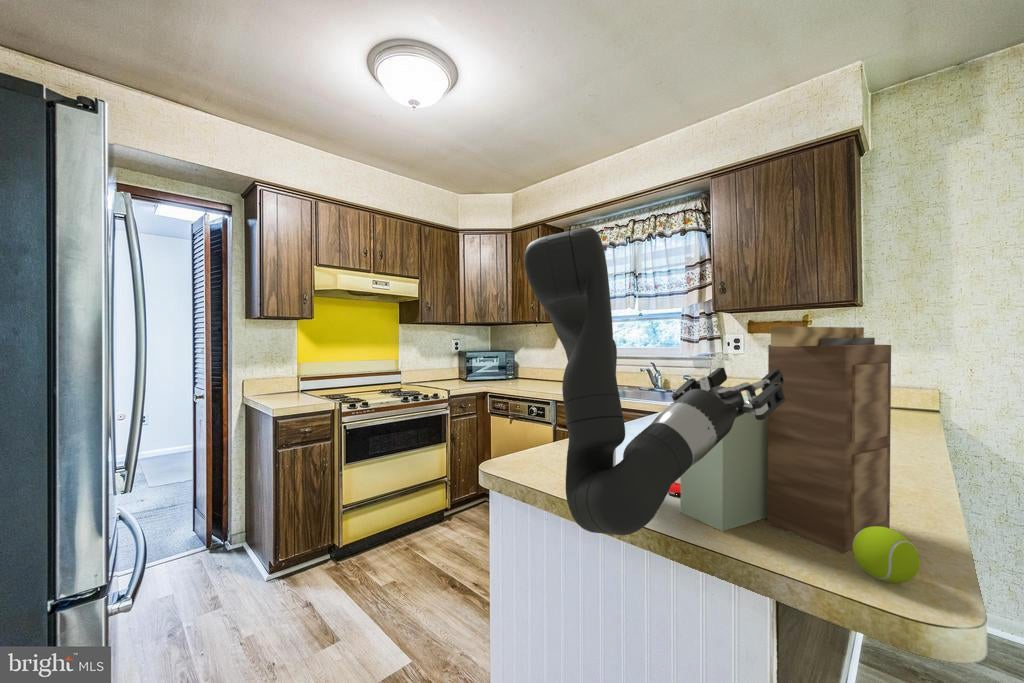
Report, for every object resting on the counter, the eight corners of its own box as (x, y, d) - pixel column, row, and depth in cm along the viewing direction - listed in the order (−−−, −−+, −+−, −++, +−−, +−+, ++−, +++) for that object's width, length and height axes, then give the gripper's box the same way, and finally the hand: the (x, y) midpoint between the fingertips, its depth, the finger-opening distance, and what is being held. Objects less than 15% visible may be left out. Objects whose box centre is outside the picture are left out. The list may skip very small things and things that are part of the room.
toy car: (693, 500, 88) (693, 485, 88) (666, 497, 90) (666, 482, 90) (690, 481, 99) (690, 468, 99) (666, 479, 101) (666, 466, 101)
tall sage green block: (722, 531, 74) (722, 406, 73) (680, 512, 82) (680, 399, 81) (779, 513, 81) (780, 399, 80) (736, 497, 89) (736, 394, 88)
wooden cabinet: (846, 554, 66) (848, 338, 65) (767, 523, 77) (768, 337, 76) (892, 535, 72) (894, 337, 71) (813, 508, 83) (814, 337, 82)
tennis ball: (934, 590, 56) (934, 537, 56) (892, 597, 55) (892, 543, 55) (878, 563, 63) (878, 516, 63) (839, 568, 62) (840, 520, 62)
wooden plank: (795, 346, 64) (795, 326, 64) (767, 346, 68) (767, 327, 67) (863, 344, 77) (863, 327, 76) (837, 343, 80) (837, 327, 80)
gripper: (730, 409, 51) (793, 350, 59) (639, 399, 63) (701, 352, 71) (747, 463, 52) (806, 398, 60) (655, 443, 65) (714, 391, 72)
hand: (749, 373), depth 66 cm, fingers open, 8 cm apart
